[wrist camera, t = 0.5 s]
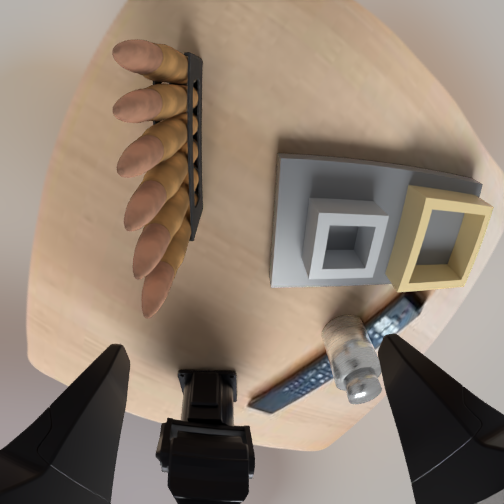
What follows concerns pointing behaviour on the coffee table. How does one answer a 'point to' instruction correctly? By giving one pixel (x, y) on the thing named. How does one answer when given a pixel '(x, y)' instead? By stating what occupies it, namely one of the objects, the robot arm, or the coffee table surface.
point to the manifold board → (373, 224)
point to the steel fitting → (352, 358)
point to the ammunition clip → (162, 161)
